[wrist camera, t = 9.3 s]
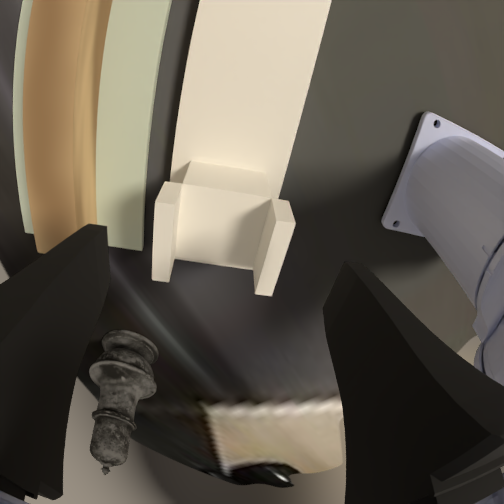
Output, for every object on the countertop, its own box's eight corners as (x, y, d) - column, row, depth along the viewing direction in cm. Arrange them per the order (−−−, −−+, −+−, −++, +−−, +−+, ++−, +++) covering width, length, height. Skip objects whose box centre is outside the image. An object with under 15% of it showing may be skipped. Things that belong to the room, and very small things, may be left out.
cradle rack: (357, -119, 7) (398, -159, 2) (257, 263, 21) (263, 330, 17) (249, -145, 6) (254, -197, 1) (165, 249, 20) (148, 315, 16)
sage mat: (221, -147, 6) (221, -151, 5) (143, 246, 20) (141, 251, 20) (74, -132, 4) (71, -134, 4) (28, 228, 19) (25, 232, 18)
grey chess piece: (136, 373, 29) (117, 486, 19) (87, 342, 26) (54, 461, 16) (175, 354, 27) (162, 484, 17) (122, 317, 24) (87, 458, 14)
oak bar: (161, -141, 5) (149, -164, 3) (97, 231, 19) (80, 260, 16) (110, -135, 5) (92, -154, 2) (57, 225, 18) (37, 252, 16)
